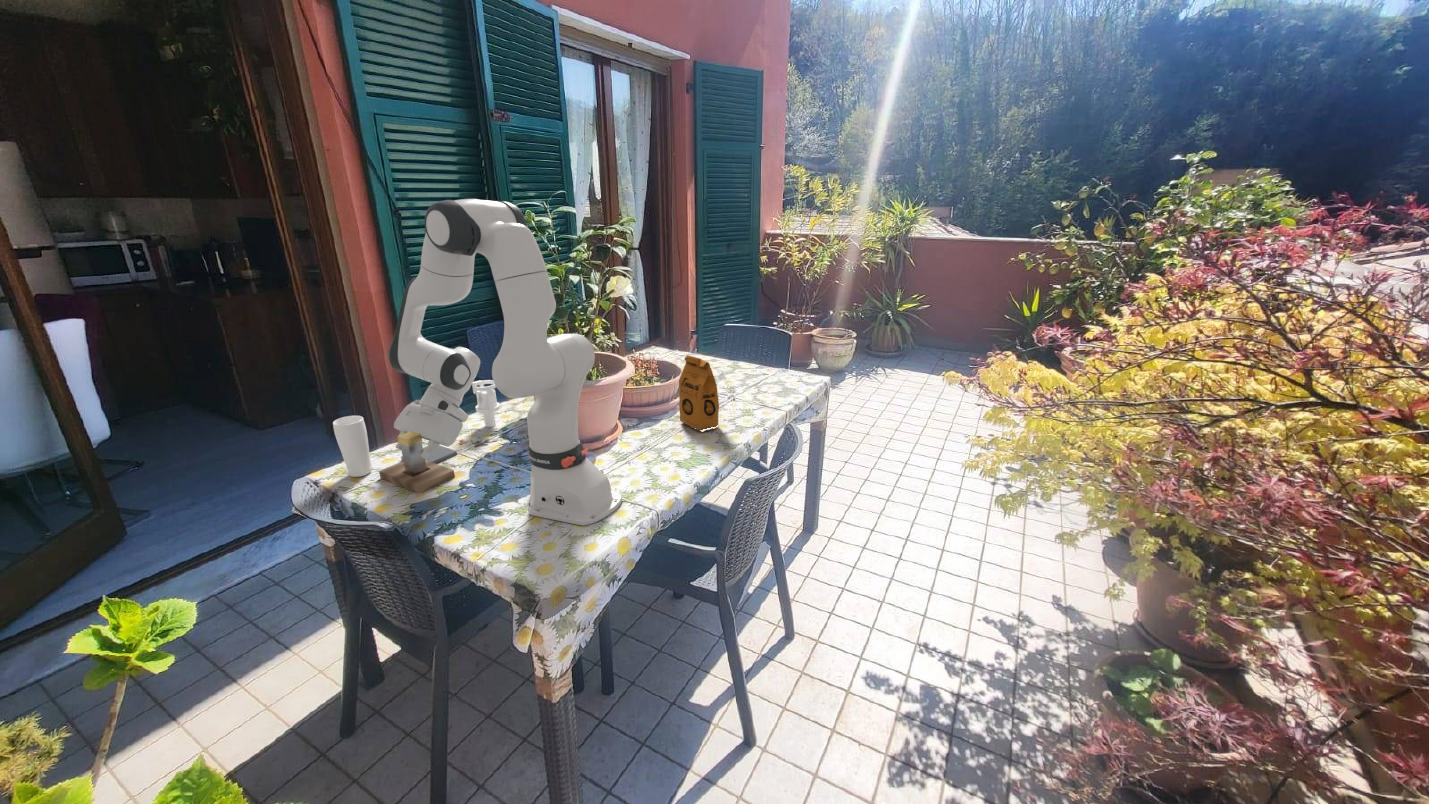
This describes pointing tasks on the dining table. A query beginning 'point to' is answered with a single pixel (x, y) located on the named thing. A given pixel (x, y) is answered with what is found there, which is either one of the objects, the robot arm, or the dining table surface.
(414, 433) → the key peg
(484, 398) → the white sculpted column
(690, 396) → the coffee package
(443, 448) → the coaster
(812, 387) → the dining table surface
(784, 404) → the dining table surface
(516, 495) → the dining table surface
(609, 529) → the dining table surface
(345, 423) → the drinking glass
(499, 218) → the robot arm
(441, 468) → the plate
